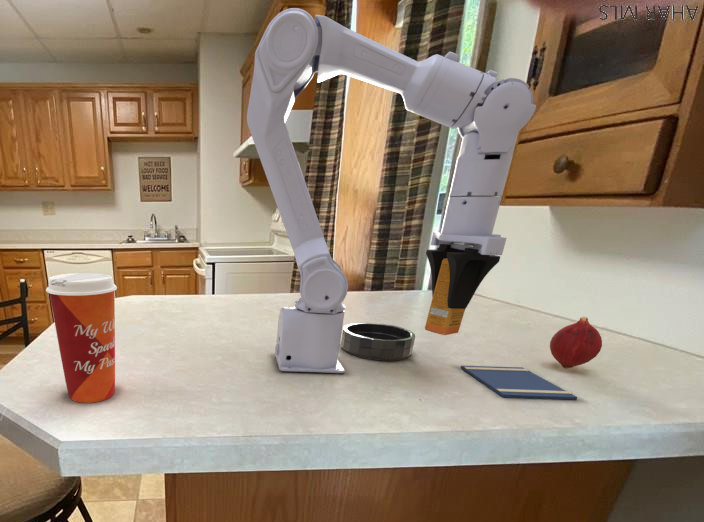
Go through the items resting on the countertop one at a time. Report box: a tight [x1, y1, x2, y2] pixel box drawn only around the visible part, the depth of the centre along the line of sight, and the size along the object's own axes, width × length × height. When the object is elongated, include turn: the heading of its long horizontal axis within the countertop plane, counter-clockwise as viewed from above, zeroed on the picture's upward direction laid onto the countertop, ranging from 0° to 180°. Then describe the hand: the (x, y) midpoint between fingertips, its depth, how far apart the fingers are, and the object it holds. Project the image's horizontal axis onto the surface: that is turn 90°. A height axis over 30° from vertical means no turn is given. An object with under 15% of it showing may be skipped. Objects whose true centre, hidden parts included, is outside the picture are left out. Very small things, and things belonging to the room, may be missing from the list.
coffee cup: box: [45, 272, 118, 404], centre depth 53 cm, size 8×8×15 cm
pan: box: [340, 322, 416, 362], centre depth 72 cm, size 11×11×4 cm
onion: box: [549, 316, 603, 369], centre depth 64 cm, size 6×6×8 cm
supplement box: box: [424, 258, 466, 336], centre depth 58 cm, size 3×3×10 cm
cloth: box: [460, 365, 578, 401], centre depth 60 cm, size 9×11×1 cm
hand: (448, 304), depth 58 cm, fingers closed on supplement box, 4 cm apart
